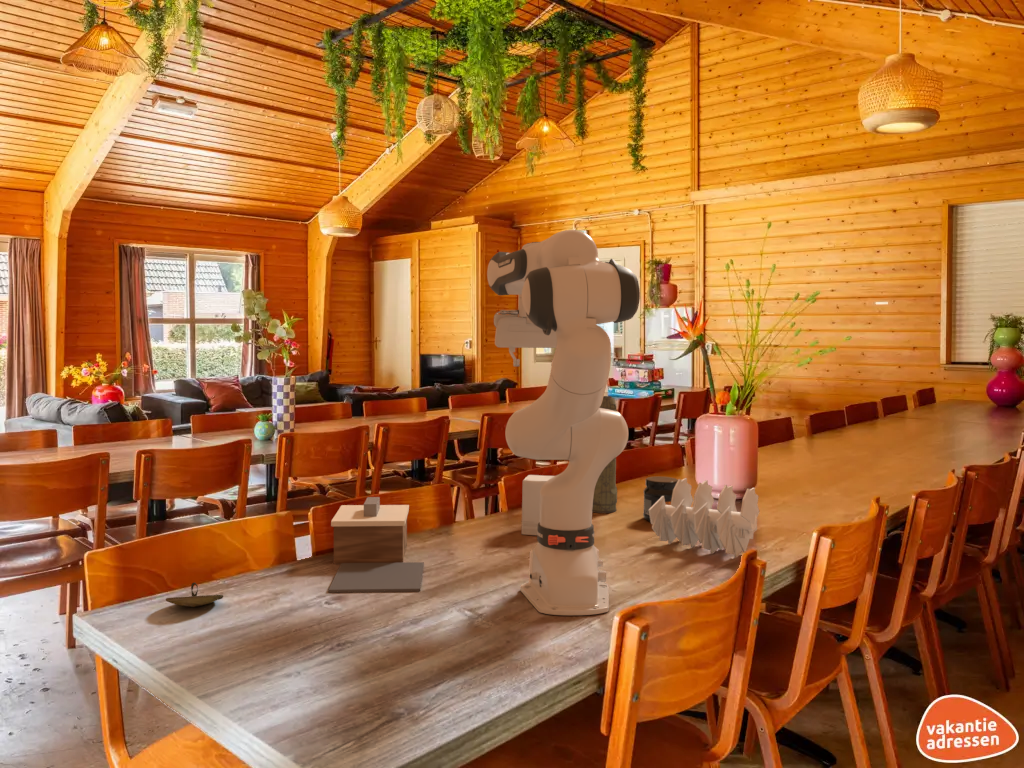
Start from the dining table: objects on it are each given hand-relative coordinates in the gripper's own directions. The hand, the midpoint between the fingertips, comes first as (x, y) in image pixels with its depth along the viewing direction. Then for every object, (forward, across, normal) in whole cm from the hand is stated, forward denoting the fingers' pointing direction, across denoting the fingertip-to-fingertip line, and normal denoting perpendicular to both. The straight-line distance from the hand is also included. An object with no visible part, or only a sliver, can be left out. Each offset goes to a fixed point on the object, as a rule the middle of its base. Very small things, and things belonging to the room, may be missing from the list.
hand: (535, 366), depth 196 cm
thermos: (+46, +25, +45) cm, 69 cm away
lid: (+46, -70, -39) cm, 93 cm away
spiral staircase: (+46, +44, 0) cm, 64 cm away
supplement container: (+46, +40, +32) cm, 69 cm away
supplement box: (+46, +4, +18) cm, 50 cm away
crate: (+46, -40, -2) cm, 61 cm away
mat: (+46, -36, -21) cm, 62 cm away
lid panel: (+38, -40, -2) cm, 55 cm away
